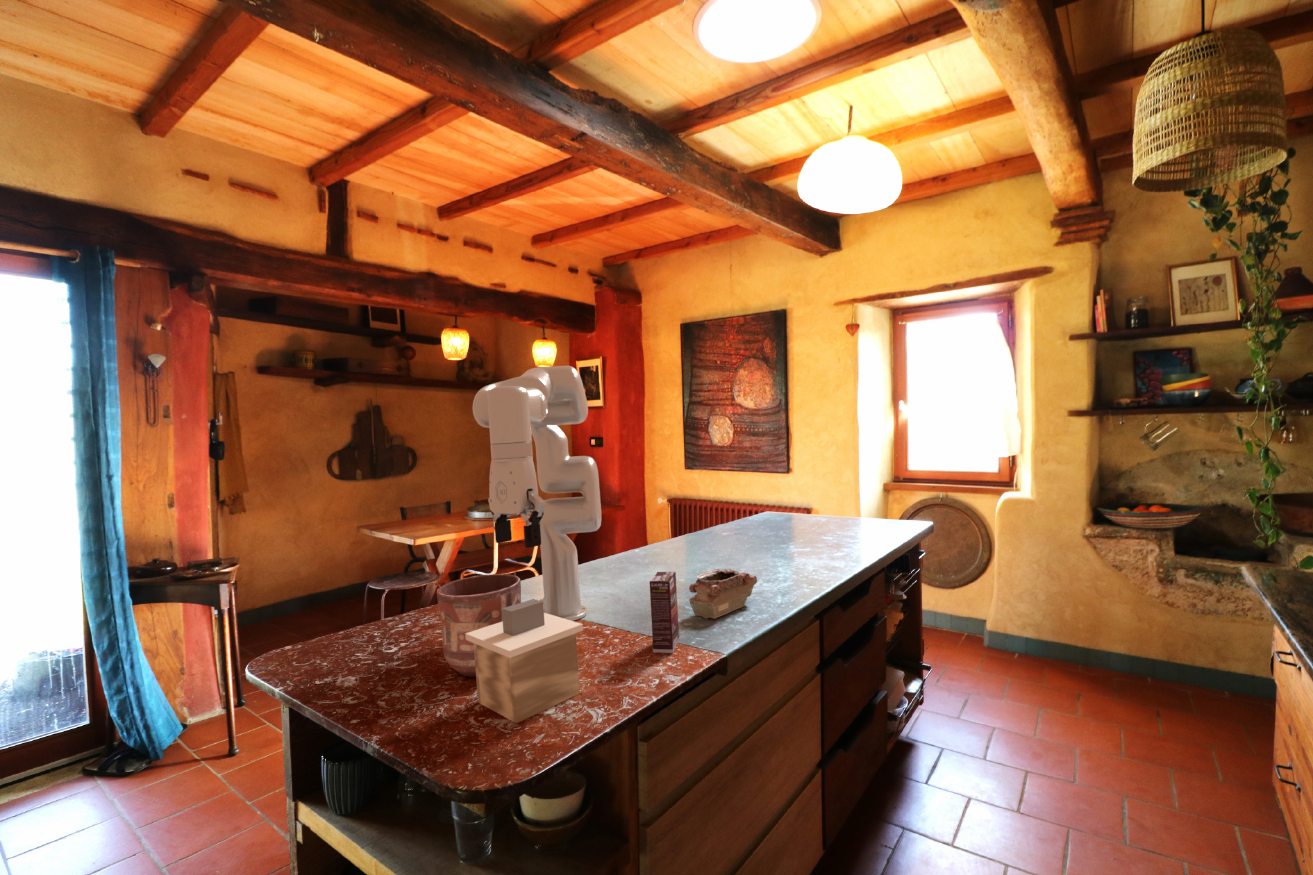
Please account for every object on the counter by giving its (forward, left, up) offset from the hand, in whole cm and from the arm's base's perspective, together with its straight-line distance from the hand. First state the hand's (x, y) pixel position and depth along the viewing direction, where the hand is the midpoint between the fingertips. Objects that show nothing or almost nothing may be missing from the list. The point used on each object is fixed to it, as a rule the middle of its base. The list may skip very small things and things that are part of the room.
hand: (518, 544), depth 113 cm
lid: (0, 0, -17) cm, 17 cm away
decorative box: (-2, +62, -30) cm, 69 cm away
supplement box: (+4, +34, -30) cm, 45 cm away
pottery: (-21, +3, -30) cm, 37 cm away
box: (0, 0, -29) cm, 29 cm away
